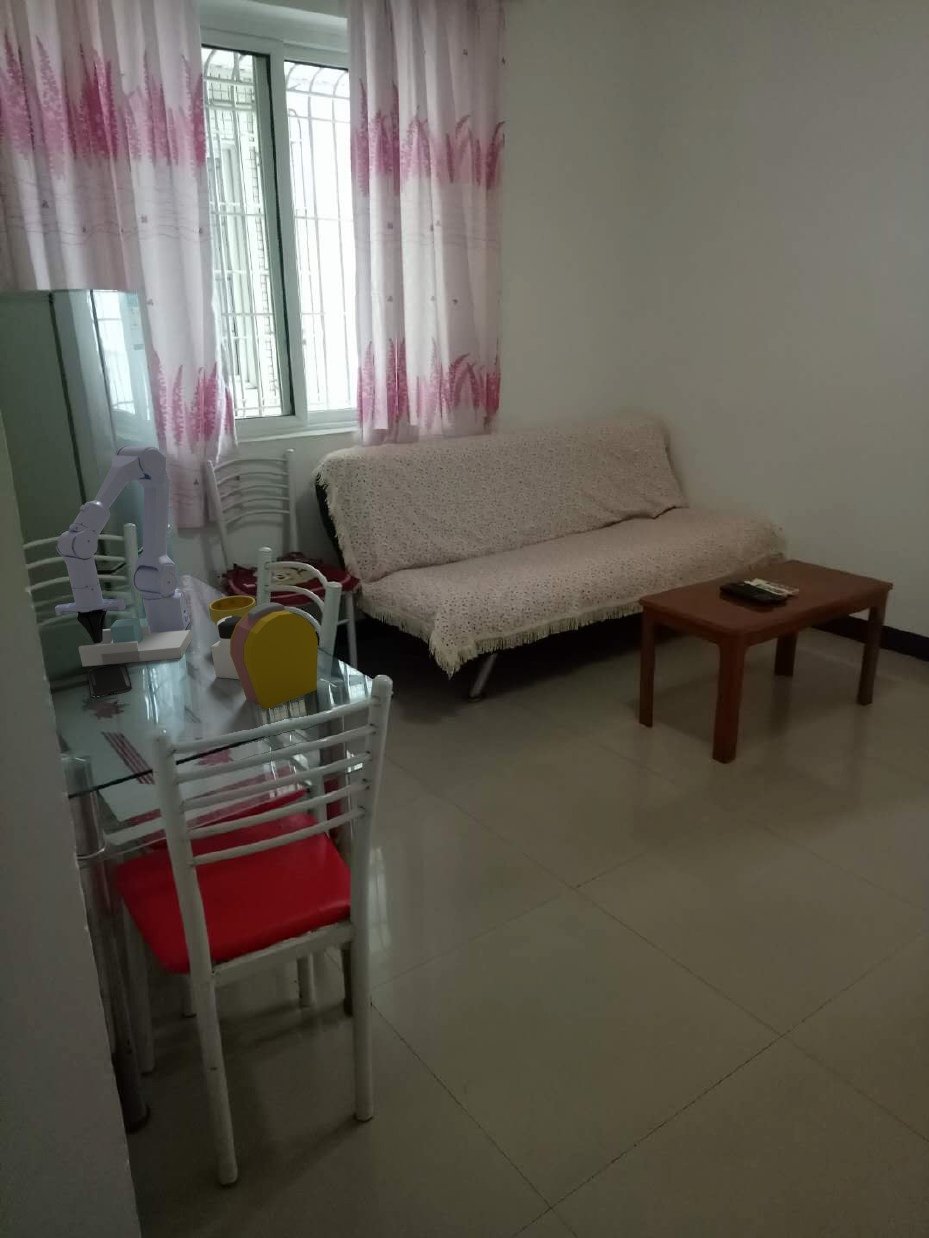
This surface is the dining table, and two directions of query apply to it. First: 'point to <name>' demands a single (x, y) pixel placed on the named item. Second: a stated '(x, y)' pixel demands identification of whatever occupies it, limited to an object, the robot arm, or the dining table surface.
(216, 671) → the medicine bottle
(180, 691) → the dining table surface
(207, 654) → the dining table surface
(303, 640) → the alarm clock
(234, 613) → the plant pot
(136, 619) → the teal block
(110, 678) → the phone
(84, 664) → the grey channel
